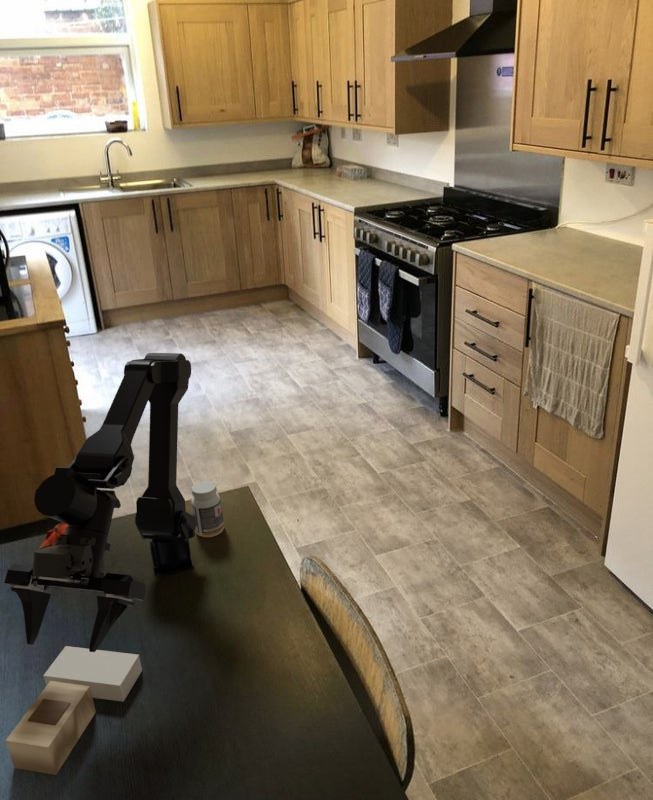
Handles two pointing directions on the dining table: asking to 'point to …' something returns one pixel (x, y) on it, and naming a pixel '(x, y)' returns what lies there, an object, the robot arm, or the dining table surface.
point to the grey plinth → (96, 671)
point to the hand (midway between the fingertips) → (60, 648)
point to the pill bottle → (207, 509)
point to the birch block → (51, 727)
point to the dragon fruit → (53, 535)
